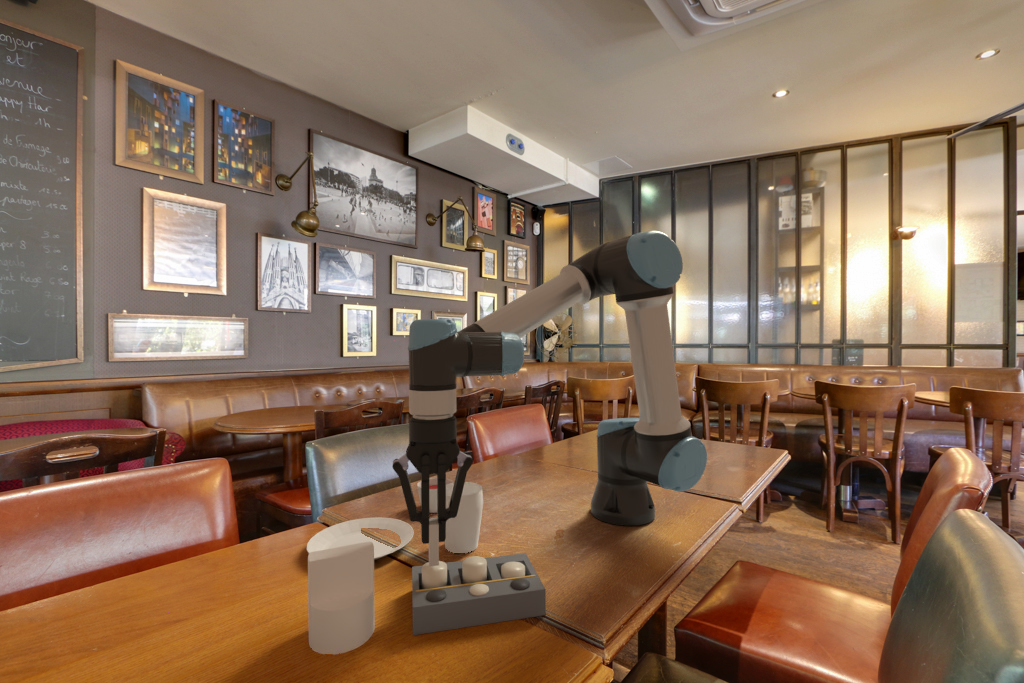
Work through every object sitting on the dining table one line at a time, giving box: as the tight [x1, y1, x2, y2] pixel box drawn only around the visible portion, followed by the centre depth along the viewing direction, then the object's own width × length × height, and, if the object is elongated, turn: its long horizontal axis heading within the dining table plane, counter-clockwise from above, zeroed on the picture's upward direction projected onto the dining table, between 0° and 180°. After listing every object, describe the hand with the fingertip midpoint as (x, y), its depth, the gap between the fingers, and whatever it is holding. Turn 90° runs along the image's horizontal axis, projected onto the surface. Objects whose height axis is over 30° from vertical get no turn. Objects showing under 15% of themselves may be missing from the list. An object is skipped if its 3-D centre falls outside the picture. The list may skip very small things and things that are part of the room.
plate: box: [306, 516, 415, 561], centre depth 93 cm, size 21×21×2 cm
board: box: [411, 552, 547, 636], centre depth 73 cm, size 20×12×4 cm, turn 103°
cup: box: [444, 481, 484, 554], centre depth 92 cm, size 9×9×12 cm
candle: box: [416, 477, 454, 514], centre depth 114 cm, size 9×9×6 cm
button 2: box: [462, 555, 487, 584], centre depth 74 cm, size 4×4×4 cm
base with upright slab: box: [307, 541, 376, 655], centre depth 65 cm, size 9×9×12 cm
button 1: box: [501, 562, 525, 579], centre depth 75 cm, size 4×4×4 cm
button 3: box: [421, 560, 447, 589], centre depth 72 cm, size 4×4×4 cm
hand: (433, 561), depth 72 cm, fingers closed
